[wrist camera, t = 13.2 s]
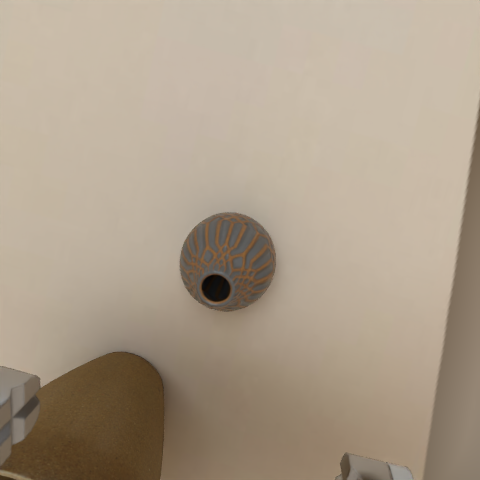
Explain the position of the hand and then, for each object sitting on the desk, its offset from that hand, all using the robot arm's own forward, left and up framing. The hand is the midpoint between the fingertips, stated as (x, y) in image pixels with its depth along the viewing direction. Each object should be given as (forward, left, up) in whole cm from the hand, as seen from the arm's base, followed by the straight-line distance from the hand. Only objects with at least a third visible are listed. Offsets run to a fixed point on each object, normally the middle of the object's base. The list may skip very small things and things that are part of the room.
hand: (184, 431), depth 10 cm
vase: (+1, +2, -22) cm, 22 cm away
